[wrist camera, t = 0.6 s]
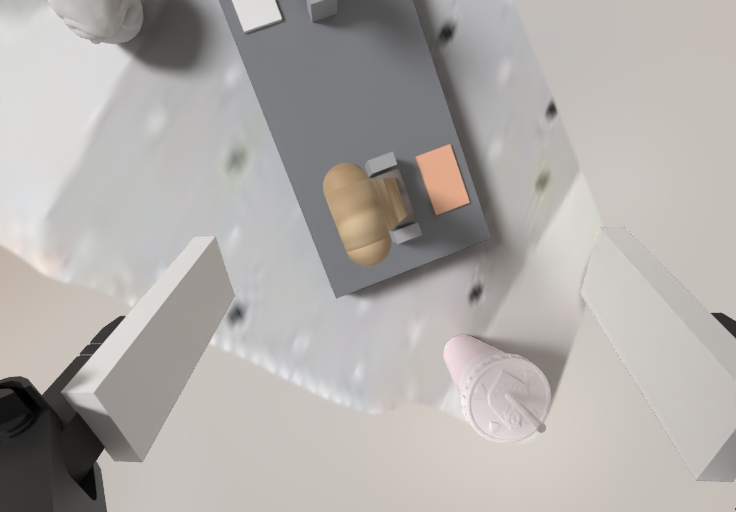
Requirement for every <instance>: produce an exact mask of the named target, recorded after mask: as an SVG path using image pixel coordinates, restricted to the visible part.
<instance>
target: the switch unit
mask: <svg viewBox="0 0 736 512" xmlns="http://www.w3.org/2000/svg"><path fill="white" fill-rule="evenodd" d="M219 2H220V4H221V7H222V9H223V12H224V14H225V17H226V20H227V22H228V25H229V27H230V30H231V32H232V35H233V37H234V40H235V42H236V45H237V48H238V50H239V53H240V55H241V58H242V60H243V63H244V65H245V68H246V70H247V73H248V75H249V78H250V81H251V83H252V86H253V88H254V91H255V93H256V96H257V98H258V101H259V103H260V106H261V109H262V111H263V114H264V116H265V119H266V121H267V124H268V126H269V129H270V131H271V134H272V136H273V139H274V142H275V144H276V147H277V149H278V152H279V154H280V157H281V159H282V162H283V164H284V167H285V170H286V172H287V175H288V177H289V180H290V182H291V185H292V187H293V190H294V192H295V195H296V197H297V200H298V203H299V205H300V208H301V210H302V213H303V215H304V218H305V220H306V223H307V225H308V228H309V231H310V233H311V236H312V238H313V241H314V243H315V246H316V248H317V251H318V253H319V256H320V259H321V261H322V264H323V266H324V269H325V271H326V274H327V276H328V279H329V281H330V284H331V286H332V289H333V292H334V294H335V297H336V298H339V297H341V296H344V295H346V294H349V293H352V292H354V291H357V290H359V289H362V288H364V287H367V286H370V285H372V284H375V283H377V282H380V281H382V280H385V279H388V278H390V277H393V276H395V275H398V274H400V273H403V272H406V271H408V270H411V269H413V268H416V267H418V266H421V265H423V264H426V263H429V262H431V261H434V260H436V259H439V258H441V257H444V256H447V255H449V254H452V253H454V252H457V251H459V250H462V249H465V248H467V247H470V246H472V245H475V244H477V243H480V242H483V241H485V240H488V239H490V238H491V235H490V232H489V229H488V226H487V223H486V220H485V217H484V214H483V211H482V208H481V205H480V202H479V199H478V196H477V193H476V190H475V187H474V184H473V181H472V178H471V175H470V172H469V169H468V166H467V163H466V160H465V157H464V154H463V151H462V148H461V144H460V141H459V138H458V135H457V132H456V129H455V126H454V123H453V120H452V117H451V114H450V111H449V108H448V105H447V102H446V99H445V96H444V93H443V90H442V87H441V84H440V81H439V78H438V75H437V72H436V69H435V66H434V63H433V60H432V57H431V54H430V51H429V47H428V44H427V41H426V38H425V35H424V32H423V29H422V26H421V23H420V20H419V17H418V14H417V11H416V8H415V5H414V2H413V0H219ZM340 163H353V164H356V165H358V166H360V167H361V168H362V169H363V170H364V171H365V172H366V173H367V175H368V177H369V179H372V178H374V177H377V176H379V175H382V174H384V173H387V172H390V171H392V170H395V169H399V170H400V173H401V176H402V178H403V181H404V184H405V187H406V190H407V193H408V195H409V198H410V201H411V204H412V207H413V209H414V212H415V215H416V219H414V220H412V221H410V222H407V223H405V224H402V225H399V226H396V227H394V228H393V229H392V230H391V231H390V232H389V234H390V237H391V249H390V252H389V254H388V256H387V257H386V258H385V260H384V261H382V262H381V263H379V264H378V265H375V266H369V267H367V266H361V265H358V264H356V263H355V262H353V261H352V260H351V259H350V258H349V256H348V255H347V253H346V250H345V248H344V245H343V242H342V240H341V237H340V235H339V232H338V229H337V227H336V224H335V222H334V219H333V216H332V214H331V211H330V209H329V206H328V203H327V201H326V198H325V196H324V192H323V181H324V178H325V176H326V174H327V172H328V171H329V170H330V169H331V168H332V167H334V166H335V165H338V164H340Z"/></svg>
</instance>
